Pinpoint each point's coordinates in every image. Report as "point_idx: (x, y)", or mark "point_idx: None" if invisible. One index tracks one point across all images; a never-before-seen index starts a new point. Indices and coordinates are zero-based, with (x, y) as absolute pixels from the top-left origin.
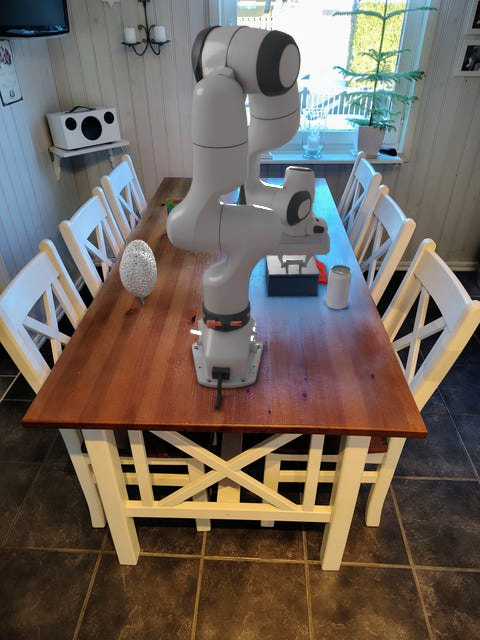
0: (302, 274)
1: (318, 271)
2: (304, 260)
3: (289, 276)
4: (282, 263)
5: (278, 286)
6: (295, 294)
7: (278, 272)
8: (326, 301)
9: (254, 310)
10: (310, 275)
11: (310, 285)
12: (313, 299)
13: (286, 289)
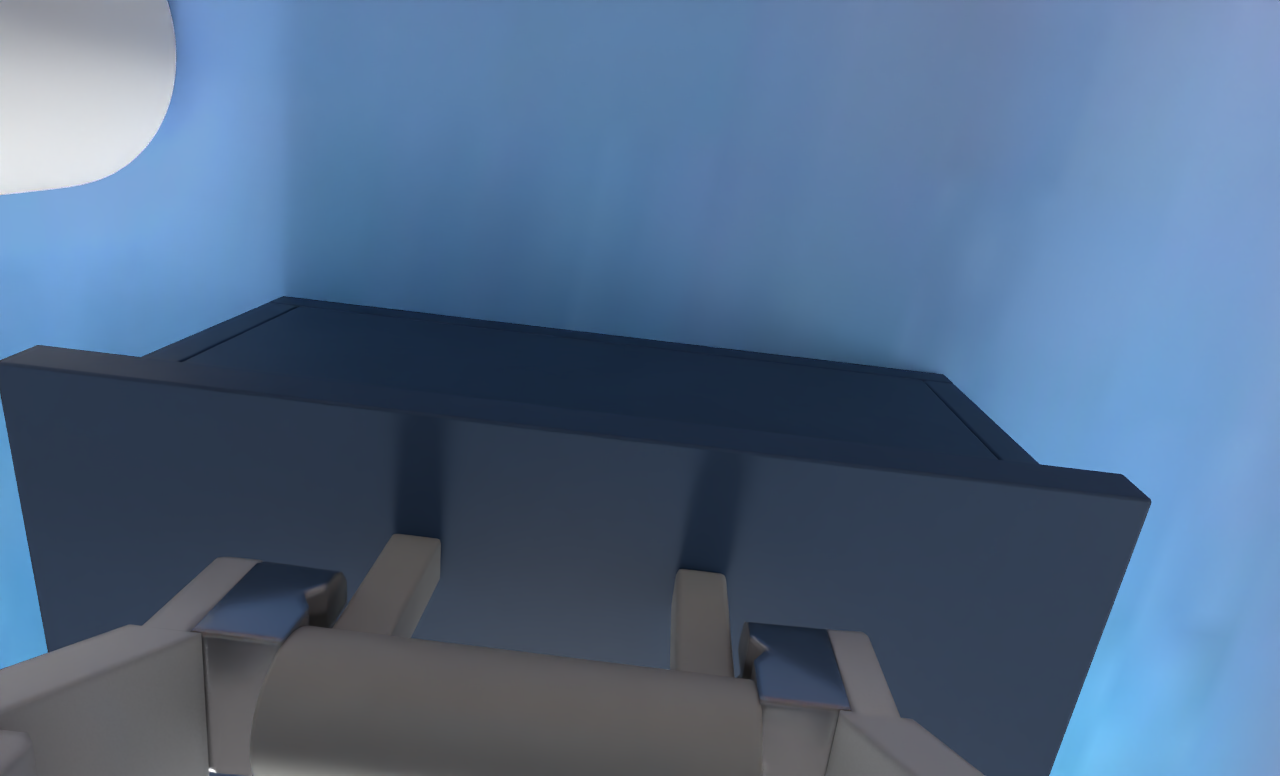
0: (387, 406)
1: (23, 478)
2: (214, 758)
3: (677, 422)
4: (867, 705)
5: (837, 408)
6: (569, 337)
7: (902, 558)
8: (145, 18)
9: (1255, 28)
10: (220, 375)
11: (312, 349)
12: (342, 217)
13: (701, 378)
